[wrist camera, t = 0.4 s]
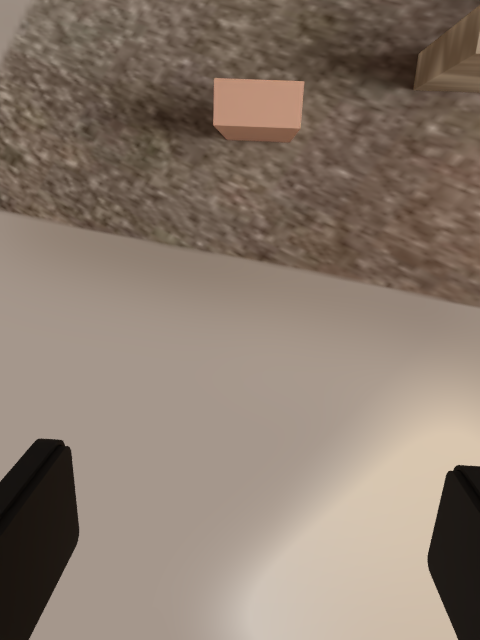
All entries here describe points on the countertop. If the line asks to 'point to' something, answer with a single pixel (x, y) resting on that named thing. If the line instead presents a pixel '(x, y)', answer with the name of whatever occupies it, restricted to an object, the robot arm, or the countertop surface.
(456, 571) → the robot arm
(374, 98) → the countertop surface
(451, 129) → the countertop surface
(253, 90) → the domino
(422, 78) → the domino
